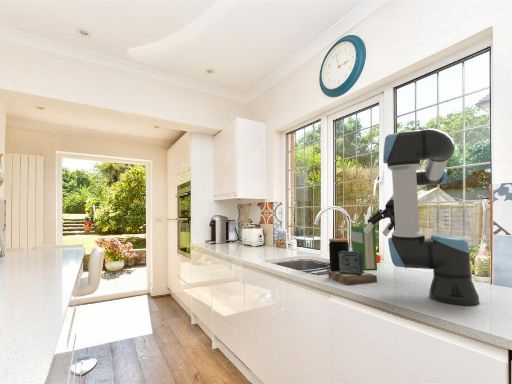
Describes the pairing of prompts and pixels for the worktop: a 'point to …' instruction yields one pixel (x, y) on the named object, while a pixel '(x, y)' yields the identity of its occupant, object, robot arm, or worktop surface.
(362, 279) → the walnut stand
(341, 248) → the coffee jar
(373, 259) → the hardback book
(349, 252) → the small box
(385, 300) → the worktop surface
